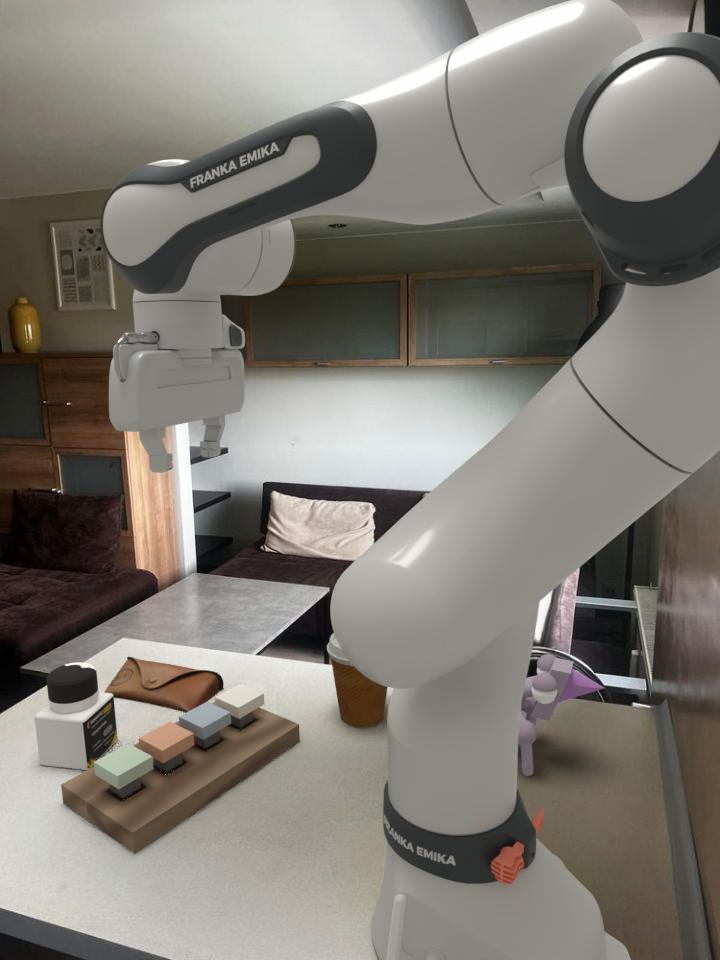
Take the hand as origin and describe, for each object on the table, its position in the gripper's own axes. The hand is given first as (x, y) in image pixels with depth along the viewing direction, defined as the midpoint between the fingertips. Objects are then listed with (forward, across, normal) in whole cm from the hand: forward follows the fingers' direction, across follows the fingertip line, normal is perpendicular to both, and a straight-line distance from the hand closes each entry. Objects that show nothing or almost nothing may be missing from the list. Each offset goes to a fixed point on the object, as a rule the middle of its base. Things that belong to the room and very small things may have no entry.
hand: (187, 463), depth 75 cm
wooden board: (+40, +4, +5) cm, 41 cm away
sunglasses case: (+41, +20, +21) cm, 50 cm away
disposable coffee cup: (+40, +22, -12) cm, 48 cm away
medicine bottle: (+41, +3, +21) cm, 46 cm away
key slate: (+38, +7, +4) cm, 38 cm away
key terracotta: (+38, +1, +6) cm, 38 cm away
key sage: (+38, -5, +8) cm, 39 cm away
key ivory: (+38, +12, +2) cm, 40 cm away
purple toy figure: (+40, +20, -34) cm, 56 cm away
